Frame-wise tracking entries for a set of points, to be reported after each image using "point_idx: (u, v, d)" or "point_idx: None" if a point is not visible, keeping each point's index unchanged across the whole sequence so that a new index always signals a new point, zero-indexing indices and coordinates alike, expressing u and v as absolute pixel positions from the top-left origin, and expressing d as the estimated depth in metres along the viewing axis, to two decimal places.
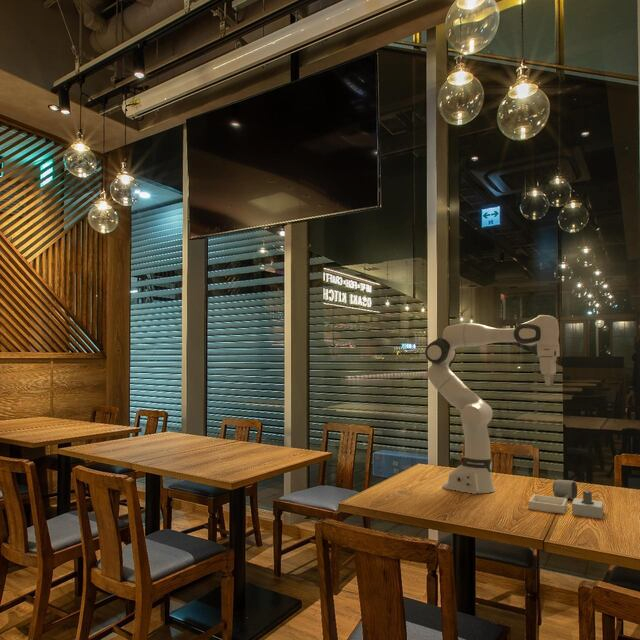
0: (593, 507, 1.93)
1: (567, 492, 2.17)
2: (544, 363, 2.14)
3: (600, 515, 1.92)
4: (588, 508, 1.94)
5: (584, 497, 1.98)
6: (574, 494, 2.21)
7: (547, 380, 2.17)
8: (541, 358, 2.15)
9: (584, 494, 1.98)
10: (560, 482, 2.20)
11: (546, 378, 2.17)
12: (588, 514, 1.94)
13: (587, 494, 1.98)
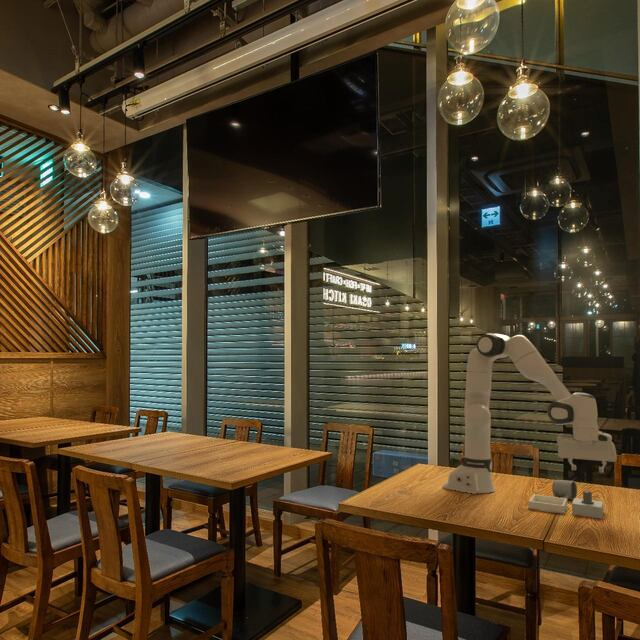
0: (593, 507, 1.93)
1: (567, 492, 2.16)
2: (615, 449, 1.95)
3: (600, 515, 1.92)
4: (588, 508, 1.94)
5: (584, 497, 1.98)
6: (574, 494, 2.20)
7: (604, 466, 1.97)
8: (612, 444, 1.95)
9: (584, 494, 1.98)
10: (559, 483, 2.20)
11: None
12: (588, 514, 1.94)
13: (587, 494, 1.98)
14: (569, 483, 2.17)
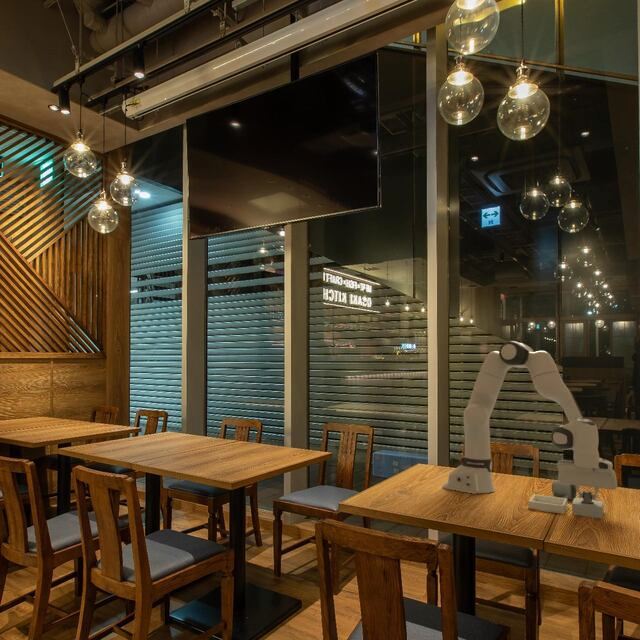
0: (593, 507, 1.93)
1: (566, 492, 2.16)
2: (615, 477, 1.94)
3: (600, 515, 1.92)
4: (588, 508, 1.94)
5: (584, 497, 1.98)
6: (573, 494, 2.20)
7: (596, 493, 1.97)
8: (613, 472, 1.94)
9: (584, 494, 1.98)
10: (559, 483, 2.20)
11: (597, 492, 1.97)
12: (588, 514, 1.94)
13: (587, 494, 1.98)
14: None
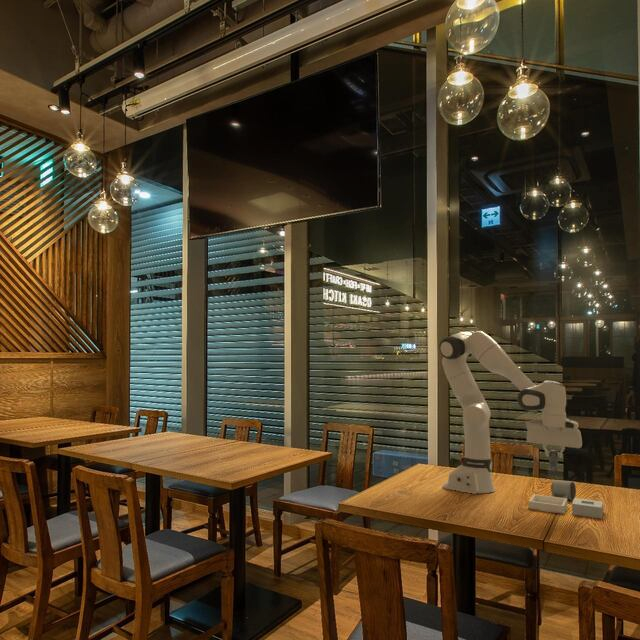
0: (593, 507, 1.93)
1: (565, 493, 2.16)
2: None
3: (600, 515, 1.92)
4: (588, 508, 1.94)
5: (550, 455, 2.06)
6: (572, 495, 2.19)
7: None
8: (578, 431, 2.01)
9: (550, 452, 2.06)
10: (558, 483, 2.19)
11: (563, 450, 2.05)
12: (588, 514, 1.94)
13: (553, 452, 2.05)
14: (568, 483, 2.17)
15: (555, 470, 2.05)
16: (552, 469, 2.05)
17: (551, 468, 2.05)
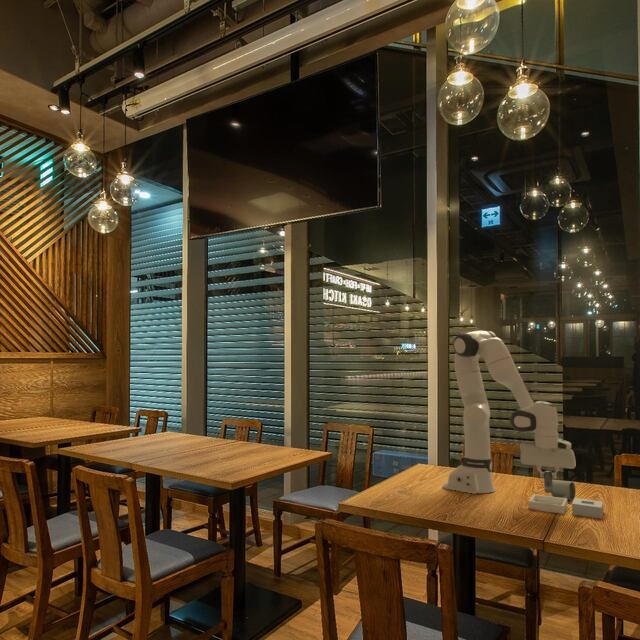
0: (593, 507, 1.93)
1: (565, 493, 2.15)
2: (574, 456, 2.02)
3: (600, 515, 1.92)
4: (588, 508, 1.94)
5: (545, 476, 2.06)
6: (572, 495, 2.19)
7: (556, 472, 2.05)
8: (571, 451, 2.01)
9: (545, 474, 2.06)
10: (558, 483, 2.19)
11: (557, 471, 2.04)
12: (588, 514, 1.94)
13: (547, 473, 2.05)
14: (567, 484, 2.16)
15: (550, 491, 2.04)
16: (547, 490, 2.05)
17: (546, 489, 2.05)
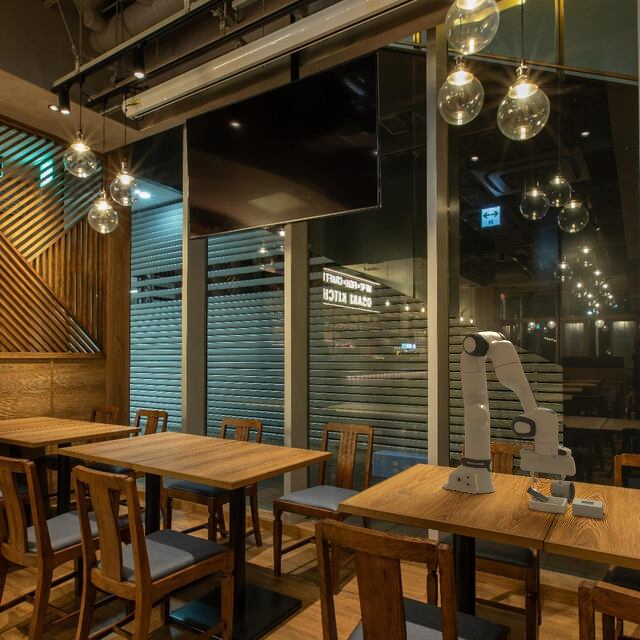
0: (593, 507, 1.93)
1: (564, 493, 2.15)
2: (574, 463, 2.02)
3: (600, 515, 1.92)
4: (588, 508, 1.94)
5: (531, 493, 2.09)
6: (572, 495, 2.19)
7: (563, 480, 2.03)
8: (571, 458, 2.01)
9: (529, 491, 2.10)
10: (557, 483, 2.19)
11: (564, 478, 2.03)
12: (588, 514, 1.94)
13: (529, 489, 2.10)
14: (567, 484, 2.16)
15: (546, 499, 2.06)
16: (544, 500, 2.06)
17: (542, 501, 2.06)
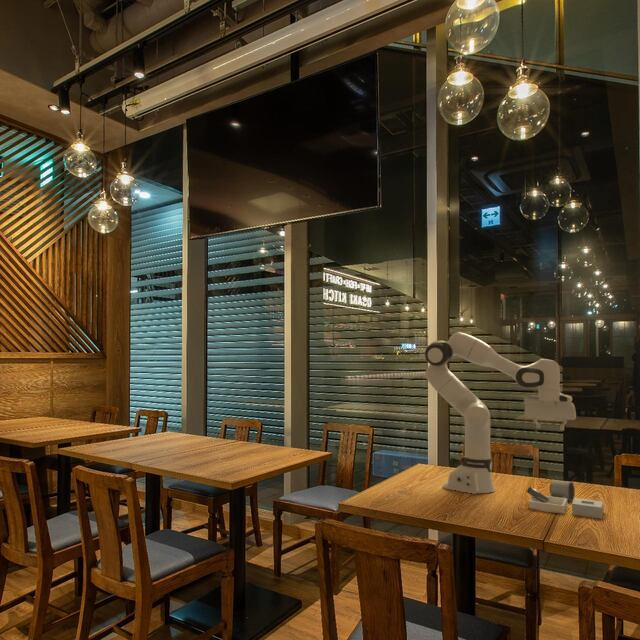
0: (593, 507, 1.93)
1: (564, 493, 2.15)
2: (574, 409, 2.17)
3: (600, 515, 1.92)
4: (588, 508, 1.94)
5: (531, 493, 2.09)
6: (571, 495, 2.18)
7: (564, 424, 2.19)
8: (572, 404, 2.17)
9: (529, 491, 2.10)
10: (557, 484, 2.18)
11: (565, 423, 2.19)
12: (588, 514, 1.94)
13: (529, 489, 2.10)
14: (567, 484, 2.16)
15: (546, 499, 2.06)
16: (544, 500, 2.06)
17: (542, 501, 2.06)
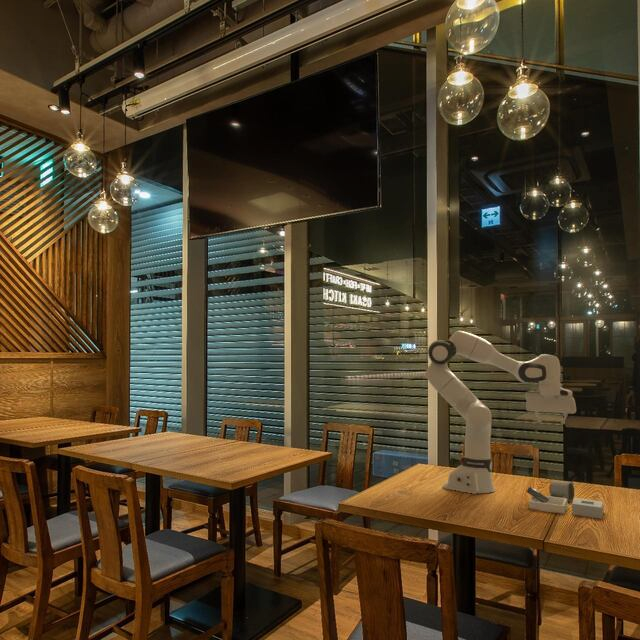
0: (593, 507, 1.93)
1: (564, 493, 2.14)
2: (574, 403, 2.23)
3: (600, 515, 1.92)
4: (588, 508, 1.94)
5: (531, 493, 2.09)
6: (571, 495, 2.18)
7: (565, 418, 2.24)
8: (572, 398, 2.22)
9: (529, 491, 2.10)
10: (556, 484, 2.18)
11: None
12: (588, 514, 1.94)
13: (530, 489, 2.10)
14: (566, 484, 2.15)
15: (546, 499, 2.06)
16: (544, 500, 2.06)
17: (542, 501, 2.06)
